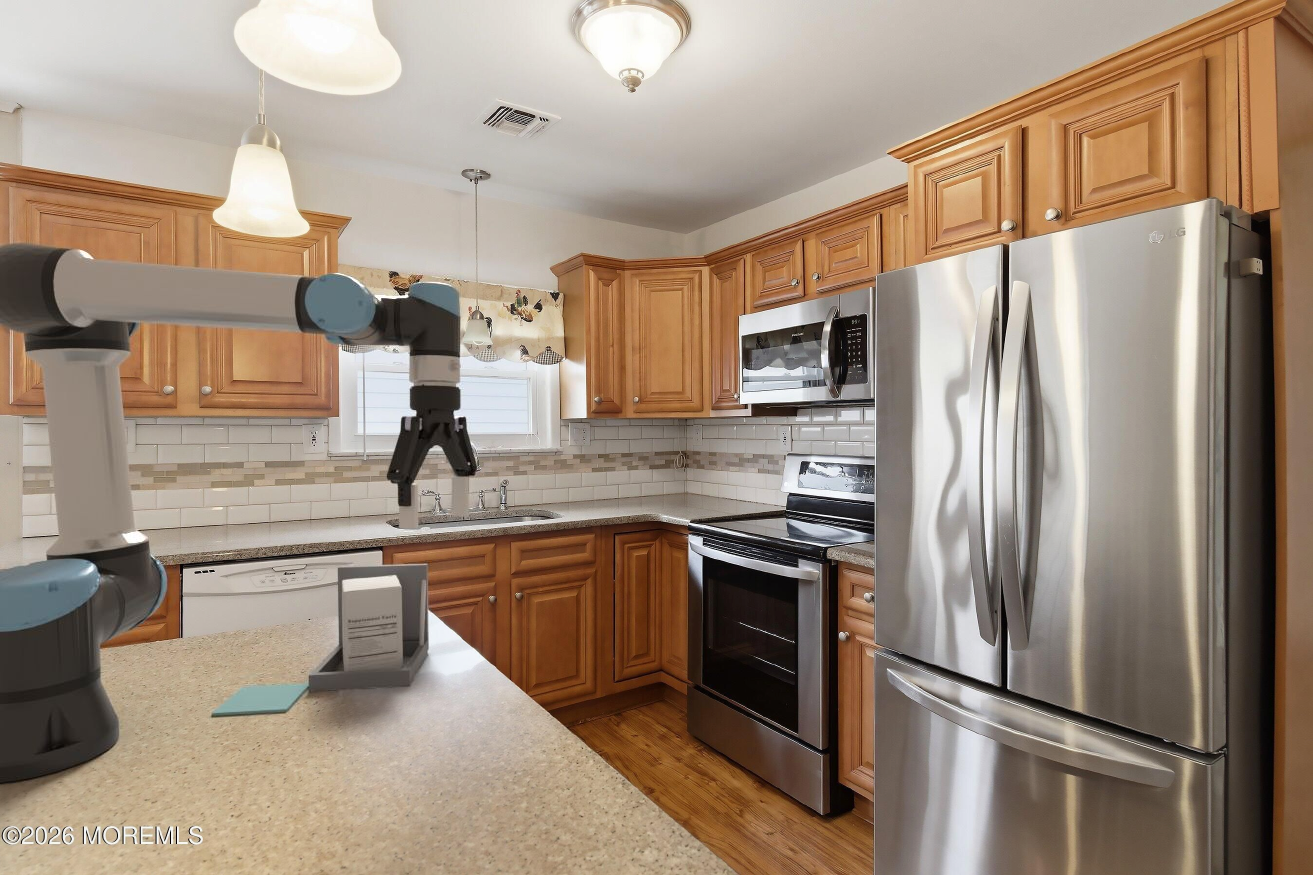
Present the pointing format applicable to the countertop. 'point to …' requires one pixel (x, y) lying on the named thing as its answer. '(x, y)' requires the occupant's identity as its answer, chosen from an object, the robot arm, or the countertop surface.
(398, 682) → the case
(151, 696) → the countertop surface
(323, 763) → the countertop surface
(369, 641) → the supplement box
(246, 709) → the mat
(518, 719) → the countertop surface
